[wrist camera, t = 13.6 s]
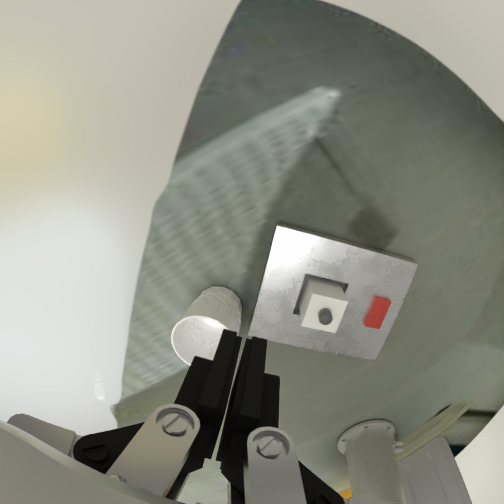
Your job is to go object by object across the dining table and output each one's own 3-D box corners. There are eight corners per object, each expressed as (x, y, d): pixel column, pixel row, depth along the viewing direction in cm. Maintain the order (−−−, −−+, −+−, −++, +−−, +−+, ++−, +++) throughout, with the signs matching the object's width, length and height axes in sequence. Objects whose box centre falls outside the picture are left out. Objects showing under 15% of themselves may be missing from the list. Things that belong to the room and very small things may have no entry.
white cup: (230, 273, 40) (215, 306, 31) (255, 319, 42) (248, 360, 32) (183, 293, 42) (158, 328, 32) (209, 336, 44) (193, 377, 34)
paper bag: (467, 429, 47) (502, 506, 21) (442, 461, 52) (467, 532, 25) (408, 442, 49) (436, 537, 22) (386, 473, 53) (403, 556, 26)
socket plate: (411, 259, 37) (420, 266, 34) (371, 351, 42) (376, 363, 39) (277, 222, 38) (277, 227, 35) (249, 326, 42) (247, 338, 39)
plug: (339, 282, 39) (350, 306, 32) (328, 310, 40) (336, 338, 33) (308, 274, 39) (313, 297, 32) (298, 304, 40) (301, 331, 33)
